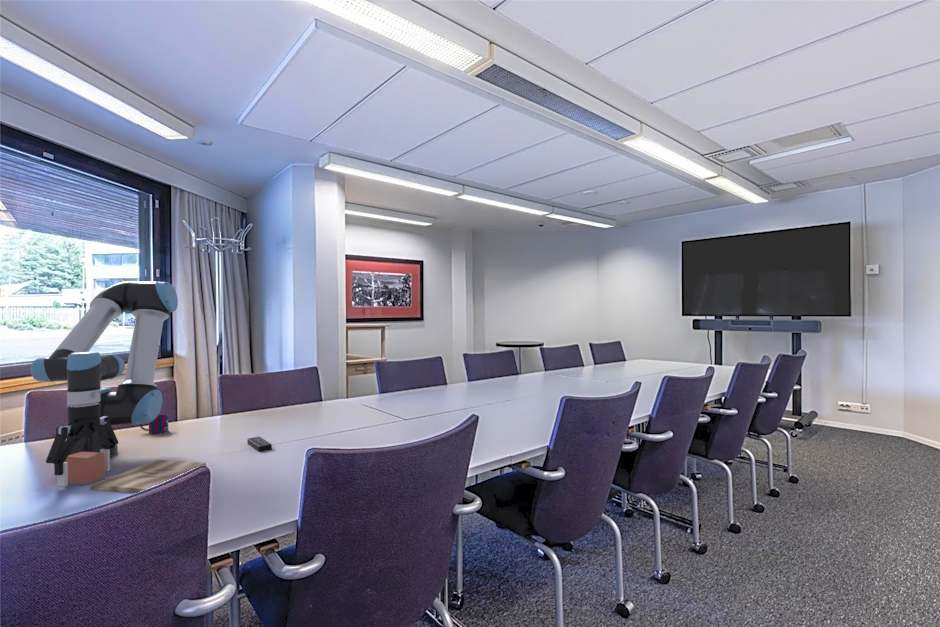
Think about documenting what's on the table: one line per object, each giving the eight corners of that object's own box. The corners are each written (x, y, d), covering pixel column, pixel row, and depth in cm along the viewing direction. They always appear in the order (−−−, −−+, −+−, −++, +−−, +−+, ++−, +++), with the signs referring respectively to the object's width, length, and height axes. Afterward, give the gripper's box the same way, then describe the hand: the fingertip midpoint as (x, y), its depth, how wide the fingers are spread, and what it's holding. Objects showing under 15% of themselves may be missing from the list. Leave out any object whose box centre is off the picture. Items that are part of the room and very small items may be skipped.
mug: (163, 434, 184) (163, 417, 184) (136, 435, 183) (136, 418, 183) (171, 430, 191) (171, 414, 191) (145, 431, 189) (145, 415, 189)
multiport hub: (259, 453, 159) (259, 446, 159) (247, 444, 170) (247, 438, 170) (272, 450, 162) (272, 444, 162) (259, 442, 173) (259, 436, 173)
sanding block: (64, 484, 130) (64, 456, 130) (82, 477, 135) (81, 451, 135) (87, 485, 129) (87, 458, 129) (104, 479, 134) (104, 452, 134)
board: (90, 489, 126) (90, 485, 126) (157, 463, 147) (157, 459, 147) (145, 493, 123) (145, 488, 123) (205, 466, 144) (205, 462, 144)
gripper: (50, 413, 120) (50, 494, 120) (132, 397, 143) (132, 464, 143) (27, 413, 121) (27, 493, 121) (112, 396, 144) (112, 463, 144)
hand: (84, 477), depth 132 cm, fingers open, 12 cm apart
